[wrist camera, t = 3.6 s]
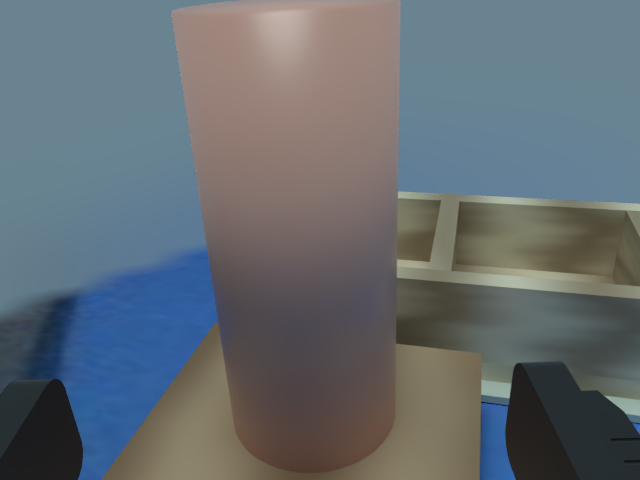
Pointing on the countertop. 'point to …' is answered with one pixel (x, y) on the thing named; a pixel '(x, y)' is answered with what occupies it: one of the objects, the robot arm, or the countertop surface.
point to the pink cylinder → (300, 216)
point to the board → (363, 476)
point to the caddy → (523, 284)
